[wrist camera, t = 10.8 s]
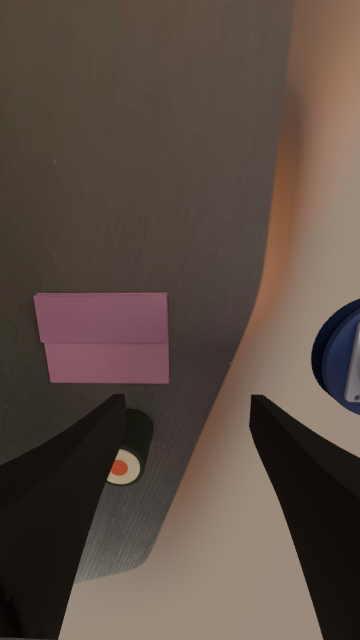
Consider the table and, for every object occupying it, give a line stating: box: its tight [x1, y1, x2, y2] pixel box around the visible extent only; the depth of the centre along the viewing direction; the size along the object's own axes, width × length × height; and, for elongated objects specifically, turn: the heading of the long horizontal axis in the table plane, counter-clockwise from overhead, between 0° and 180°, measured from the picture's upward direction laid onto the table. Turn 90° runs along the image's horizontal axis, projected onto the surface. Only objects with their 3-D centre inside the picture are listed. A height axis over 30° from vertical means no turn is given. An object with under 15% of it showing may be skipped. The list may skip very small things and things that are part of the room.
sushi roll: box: [106, 410, 153, 486], centre depth 19 cm, size 4×4×5 cm
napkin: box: [33, 292, 169, 384], centre depth 19 cm, size 12×9×1 cm
